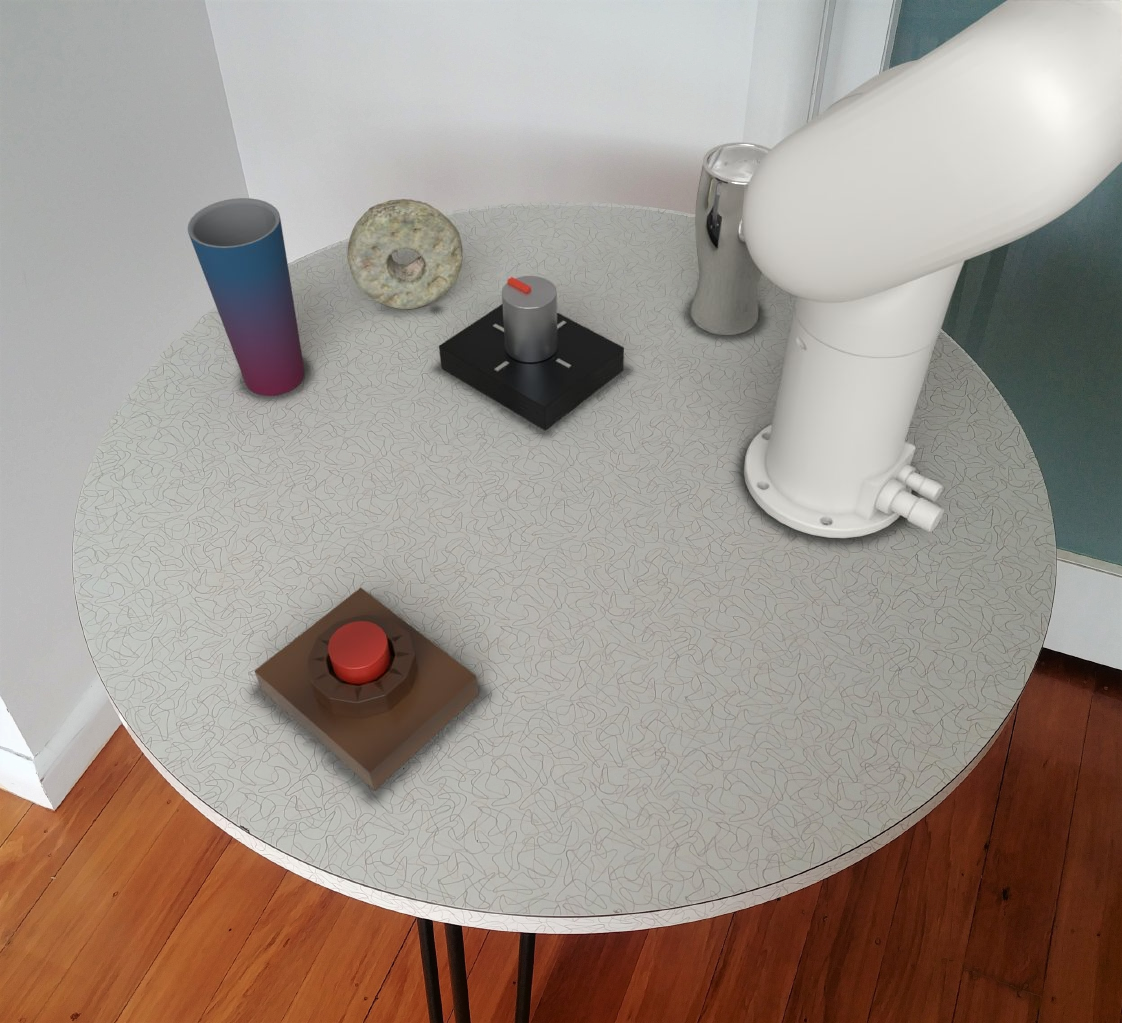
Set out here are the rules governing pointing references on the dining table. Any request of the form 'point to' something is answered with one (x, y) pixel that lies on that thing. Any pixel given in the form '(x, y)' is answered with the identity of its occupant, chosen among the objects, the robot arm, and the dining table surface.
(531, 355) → the tap knob
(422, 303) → the stone ring
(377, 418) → the dining table surface
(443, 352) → the plate
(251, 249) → the cup
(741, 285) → the beer glass
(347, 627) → the button
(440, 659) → the button block
